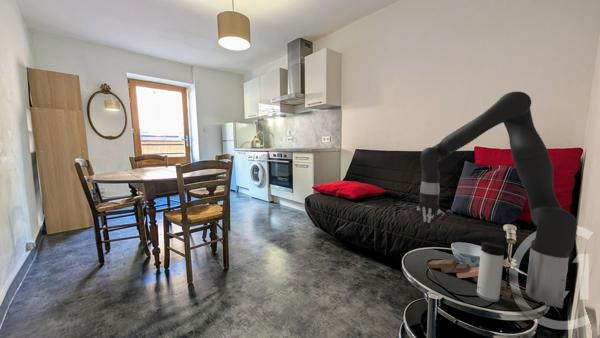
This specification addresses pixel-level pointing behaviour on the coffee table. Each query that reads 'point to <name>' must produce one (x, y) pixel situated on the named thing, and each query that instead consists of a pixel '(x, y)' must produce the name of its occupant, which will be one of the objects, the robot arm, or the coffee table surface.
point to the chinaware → (467, 253)
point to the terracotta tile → (469, 273)
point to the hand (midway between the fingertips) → (427, 229)
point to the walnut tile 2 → (457, 268)
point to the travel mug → (490, 271)
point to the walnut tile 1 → (442, 264)
